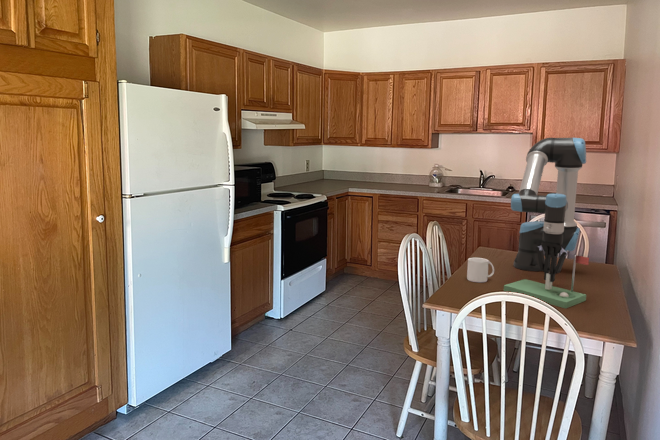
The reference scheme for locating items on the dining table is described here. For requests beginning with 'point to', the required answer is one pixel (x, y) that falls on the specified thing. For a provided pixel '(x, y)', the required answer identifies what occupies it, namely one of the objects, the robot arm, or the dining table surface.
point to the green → (546, 293)
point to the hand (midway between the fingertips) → (548, 288)
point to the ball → (564, 294)
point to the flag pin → (576, 260)
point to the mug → (478, 269)
